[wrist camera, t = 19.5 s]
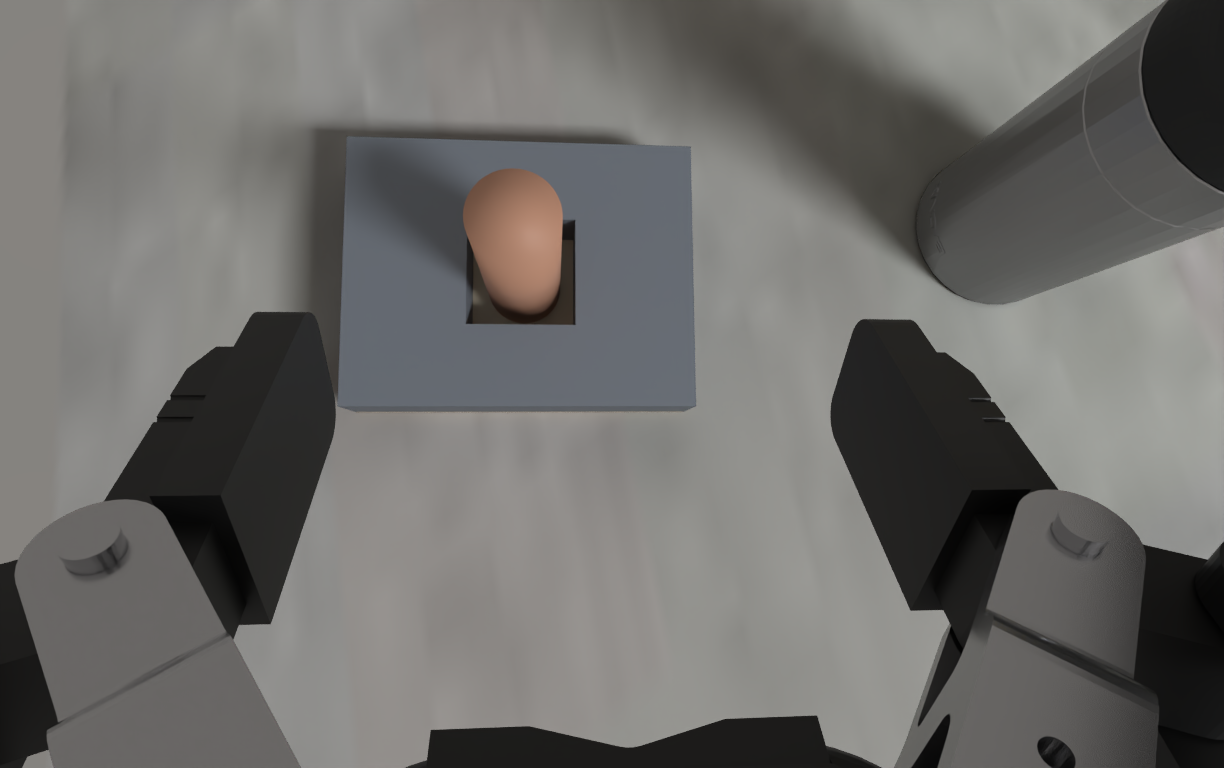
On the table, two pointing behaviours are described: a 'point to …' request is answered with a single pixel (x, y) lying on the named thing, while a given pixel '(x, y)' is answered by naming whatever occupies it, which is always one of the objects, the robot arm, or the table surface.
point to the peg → (516, 242)
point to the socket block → (459, 301)
